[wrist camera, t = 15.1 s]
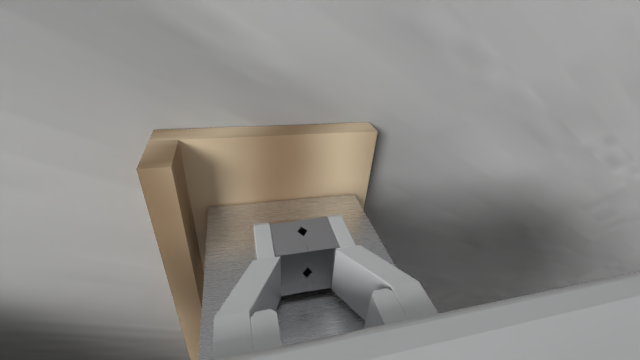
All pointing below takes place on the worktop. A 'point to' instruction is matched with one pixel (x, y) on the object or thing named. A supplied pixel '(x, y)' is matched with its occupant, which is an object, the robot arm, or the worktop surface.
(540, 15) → the worktop surface
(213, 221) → the bookend
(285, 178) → the rack
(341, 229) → the robot arm
